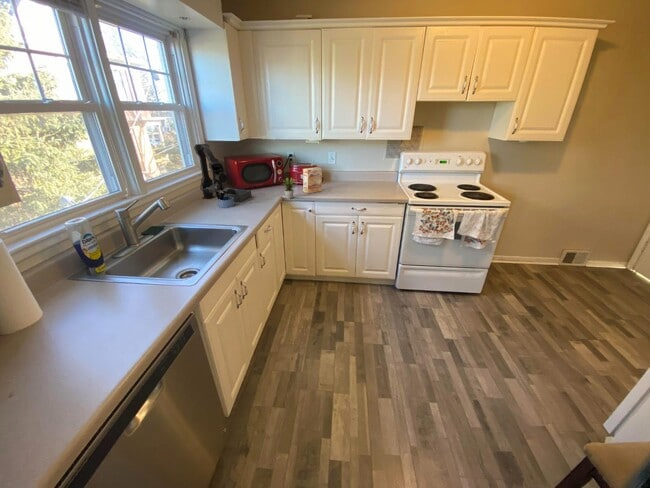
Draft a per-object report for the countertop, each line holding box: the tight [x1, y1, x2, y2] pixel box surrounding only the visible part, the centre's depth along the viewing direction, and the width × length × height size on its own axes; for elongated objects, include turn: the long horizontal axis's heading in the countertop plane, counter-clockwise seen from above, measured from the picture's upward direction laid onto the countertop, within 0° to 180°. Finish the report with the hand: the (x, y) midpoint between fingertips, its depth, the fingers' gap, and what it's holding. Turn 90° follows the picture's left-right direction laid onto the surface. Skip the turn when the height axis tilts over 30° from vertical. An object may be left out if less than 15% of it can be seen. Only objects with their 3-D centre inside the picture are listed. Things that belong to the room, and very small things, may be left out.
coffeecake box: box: [302, 166, 323, 195], centre depth 235 cm, size 15×7×20 cm, turn 129°
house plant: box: [282, 177, 298, 200], centre depth 216 cm, size 14×14×16 cm
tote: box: [224, 188, 252, 203], centre depth 217 cm, size 16×16×5 cm
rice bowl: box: [218, 197, 235, 208], centre depth 199 cm, size 10×10×5 cm
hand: (220, 201), depth 200 cm, fingers closed on rice bowl
